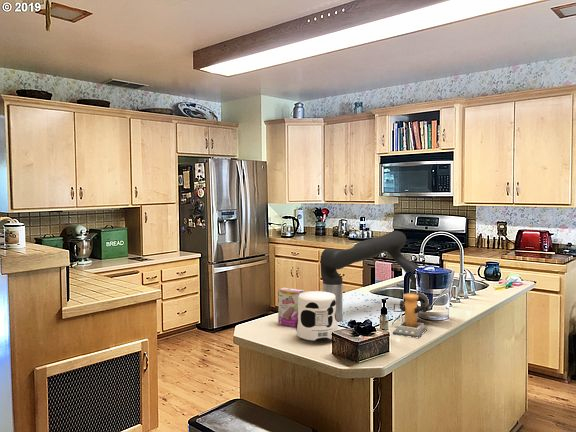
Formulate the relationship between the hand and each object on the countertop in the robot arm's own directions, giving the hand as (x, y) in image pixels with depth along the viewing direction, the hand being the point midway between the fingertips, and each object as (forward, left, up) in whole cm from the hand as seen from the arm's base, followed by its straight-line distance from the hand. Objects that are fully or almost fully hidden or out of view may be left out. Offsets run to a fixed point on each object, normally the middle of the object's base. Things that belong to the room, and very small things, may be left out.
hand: (409, 310), depth 199 cm
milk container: (-31, -25, -10) cm, 41 cm away
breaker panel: (0, +1, -10) cm, 10 cm away
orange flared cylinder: (0, +3, -7) cm, 8 cm away
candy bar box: (-49, -15, -10) cm, 52 cm away
